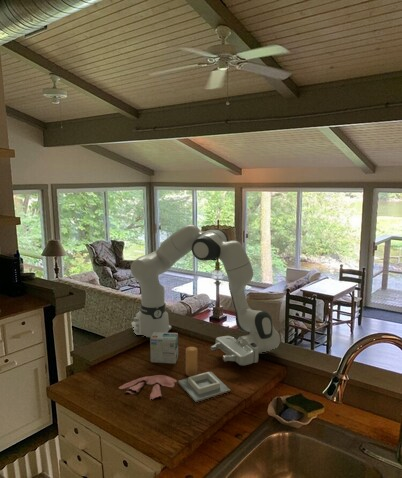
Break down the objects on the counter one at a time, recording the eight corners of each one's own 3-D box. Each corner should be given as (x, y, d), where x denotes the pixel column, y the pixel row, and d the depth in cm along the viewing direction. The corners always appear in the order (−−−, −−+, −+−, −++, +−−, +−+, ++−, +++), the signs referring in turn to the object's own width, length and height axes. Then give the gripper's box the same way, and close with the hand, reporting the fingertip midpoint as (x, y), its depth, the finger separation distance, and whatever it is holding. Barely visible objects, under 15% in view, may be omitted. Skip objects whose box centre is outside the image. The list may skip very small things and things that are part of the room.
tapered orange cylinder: (183, 371, 150) (183, 348, 148) (193, 369, 152) (194, 345, 150) (188, 377, 146) (188, 353, 144) (199, 374, 148) (199, 350, 146)
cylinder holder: (178, 383, 142) (178, 375, 141) (211, 374, 148) (211, 366, 148) (195, 403, 130) (195, 395, 129) (230, 392, 136) (230, 384, 136)
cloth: (183, 379, 146) (183, 373, 145) (161, 414, 125) (161, 407, 124) (134, 371, 151) (134, 365, 151) (105, 402, 131) (105, 396, 130)
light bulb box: (178, 356, 162) (178, 332, 160) (175, 364, 156) (175, 339, 154) (153, 354, 163) (153, 331, 161) (150, 362, 157) (149, 338, 155)
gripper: (232, 330, 168) (204, 336, 162) (260, 349, 150) (231, 357, 144) (232, 343, 169) (204, 350, 163) (260, 364, 152) (230, 372, 145)
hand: (217, 353), depth 153 cm, fingers open, 8 cm apart
